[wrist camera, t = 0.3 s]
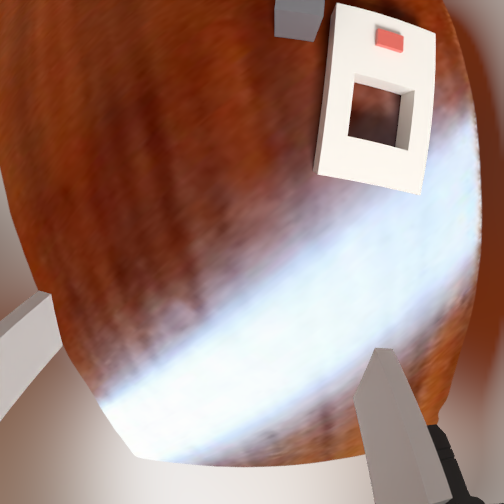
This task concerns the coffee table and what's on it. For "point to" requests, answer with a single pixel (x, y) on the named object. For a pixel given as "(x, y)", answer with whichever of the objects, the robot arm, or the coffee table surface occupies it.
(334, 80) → the socket plate
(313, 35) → the plug
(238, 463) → the coffee table surface
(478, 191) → the coffee table surface
